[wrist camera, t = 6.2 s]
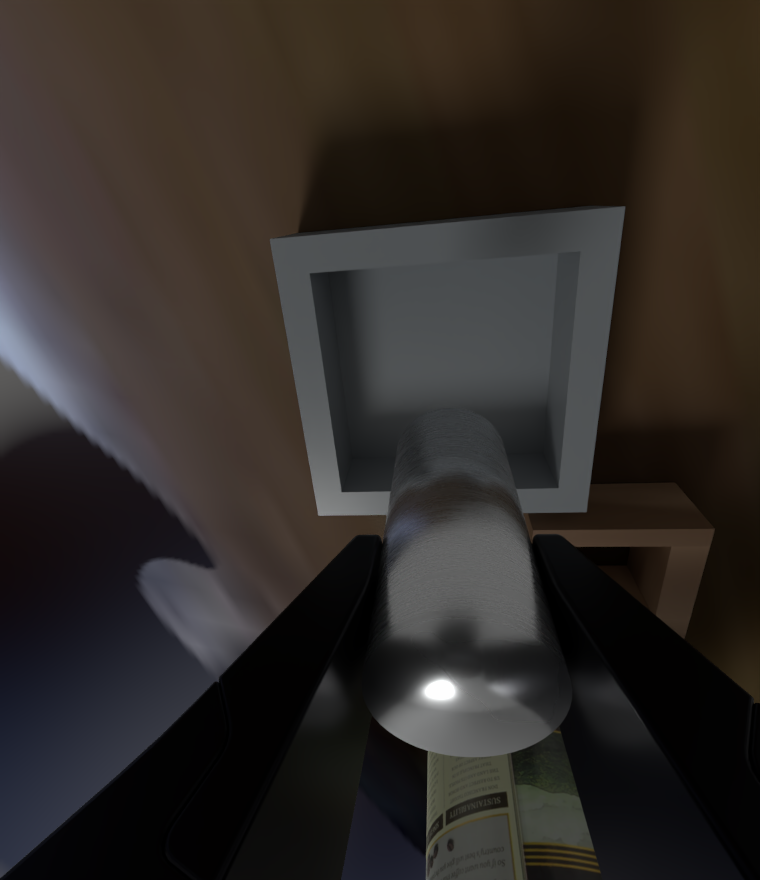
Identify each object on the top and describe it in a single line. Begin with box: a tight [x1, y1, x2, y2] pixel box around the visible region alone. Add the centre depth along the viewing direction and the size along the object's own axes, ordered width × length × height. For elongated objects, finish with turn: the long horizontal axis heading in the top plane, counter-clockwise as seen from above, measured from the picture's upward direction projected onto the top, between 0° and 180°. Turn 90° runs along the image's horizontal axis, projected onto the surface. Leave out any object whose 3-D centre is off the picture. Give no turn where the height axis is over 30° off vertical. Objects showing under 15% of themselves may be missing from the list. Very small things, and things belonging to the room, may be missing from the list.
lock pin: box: [361, 408, 572, 757], centre depth 8 cm, size 2×2×6 cm
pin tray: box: [270, 206, 625, 516], centre depth 16 cm, size 10×10×3 cm
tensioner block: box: [523, 482, 715, 639], centre depth 19 cm, size 9×6×4 cm, turn 5°
